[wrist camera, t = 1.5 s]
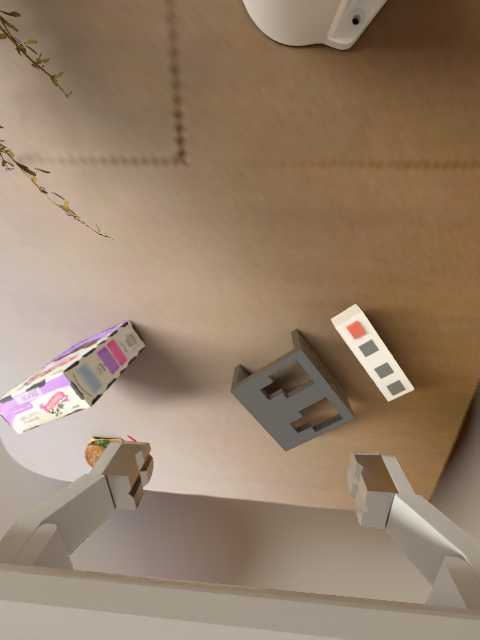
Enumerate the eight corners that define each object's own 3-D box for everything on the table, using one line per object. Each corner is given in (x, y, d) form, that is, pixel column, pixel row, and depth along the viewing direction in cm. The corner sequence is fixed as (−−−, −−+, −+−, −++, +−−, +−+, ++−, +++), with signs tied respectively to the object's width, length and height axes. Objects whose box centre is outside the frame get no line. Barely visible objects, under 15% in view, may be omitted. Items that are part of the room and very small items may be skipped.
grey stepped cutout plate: (296, 328, 44) (301, 349, 38) (343, 390, 48) (355, 418, 41) (235, 367, 48) (230, 391, 42) (283, 421, 52) (285, 451, 46)
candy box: (129, 318, 47) (62, 371, 32) (147, 346, 48) (93, 408, 33) (71, 345, 50) (-14, 405, 35) (90, 370, 52) (17, 437, 37)
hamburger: (98, 472, 64) (82, 496, 59) (79, 427, 59) (60, 450, 53) (153, 474, 62) (141, 499, 57) (139, 428, 57) (125, 451, 52)
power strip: (348, 296, 41) (363, 313, 35) (394, 364, 45) (416, 391, 38) (325, 310, 42) (336, 329, 36) (372, 375, 46) (390, 404, 39)
